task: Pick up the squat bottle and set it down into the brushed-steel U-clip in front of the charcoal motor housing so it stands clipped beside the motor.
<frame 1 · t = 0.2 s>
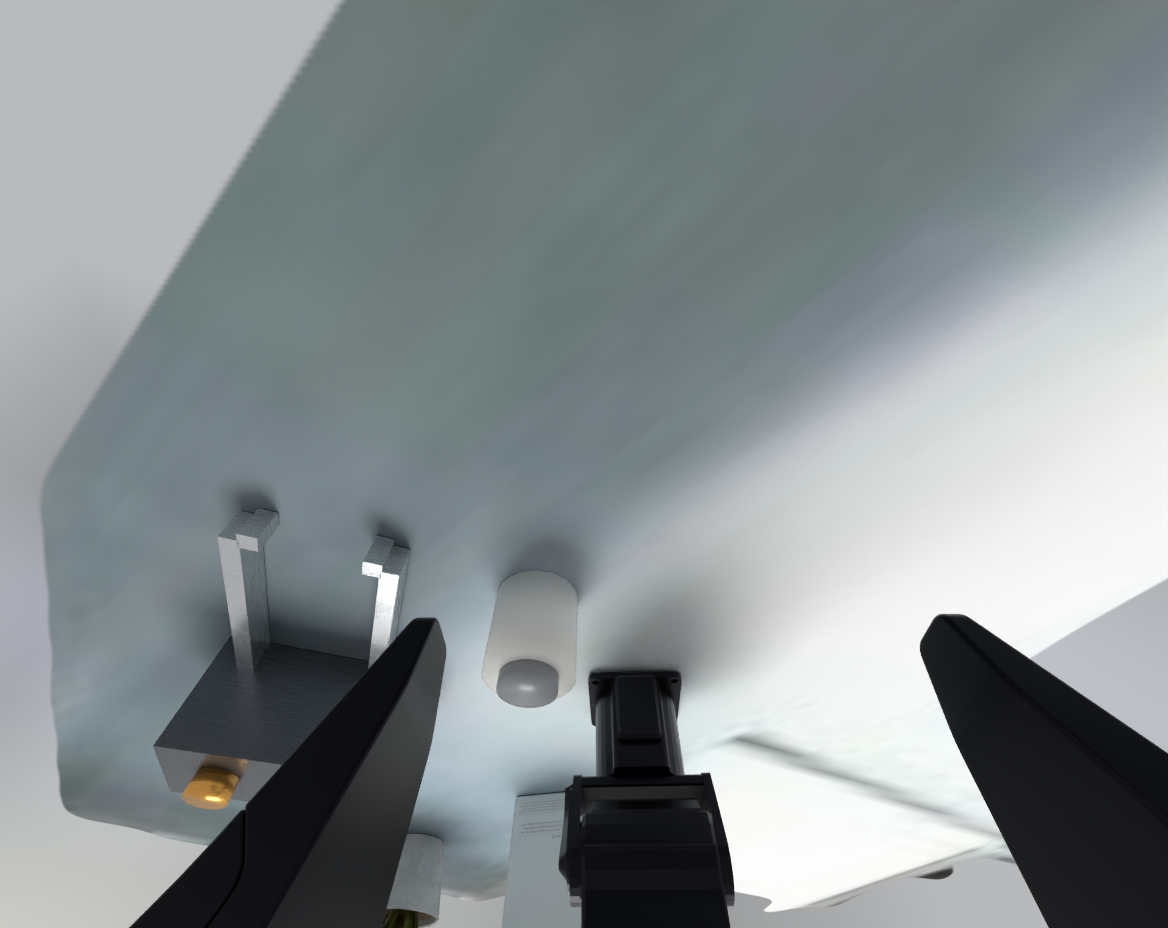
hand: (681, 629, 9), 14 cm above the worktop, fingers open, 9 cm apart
bottle: (537, 598, 30), on the worktop
house plant: (430, 838, 53), on the worktop
supplement box: (561, 805, 48), on the worktop
motor clip: (326, 583, 29), on the worktop
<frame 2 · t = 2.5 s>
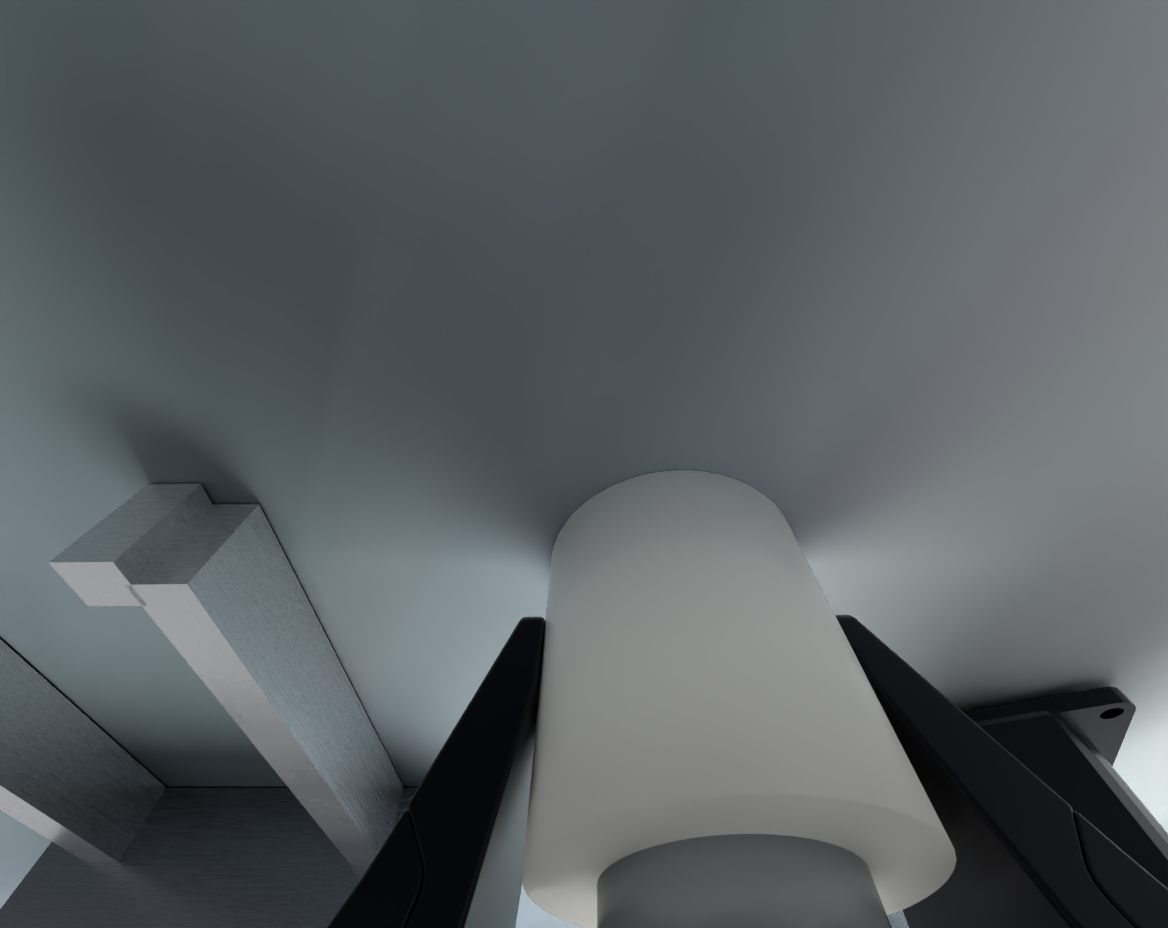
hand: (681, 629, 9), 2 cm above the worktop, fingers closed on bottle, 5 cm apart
bottle: (670, 568, 10), on the worktop, touching gripper
motor clip: (151, 649, 12), on the worktop
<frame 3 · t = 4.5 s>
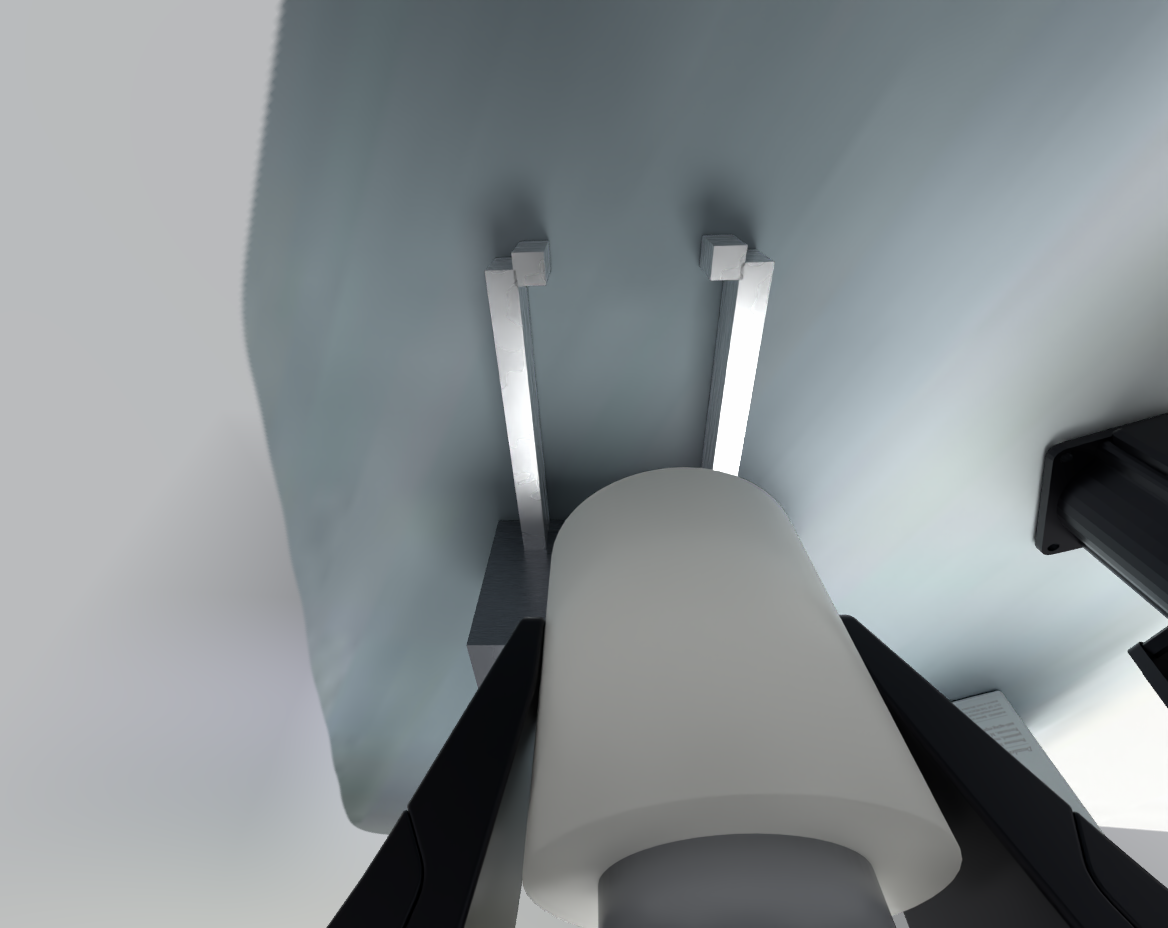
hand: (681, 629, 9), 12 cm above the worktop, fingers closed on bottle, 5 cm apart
bottle: (671, 566, 10), point 11 cm above the worktop, touching gripper
supplement box: (947, 725, 33), on the worktop
motor clip: (623, 374, 19), on the worktop
when the fingers open (3 cm above the worktop, at t = 6.7 s): bottle drops 2 cm, on the worktop.
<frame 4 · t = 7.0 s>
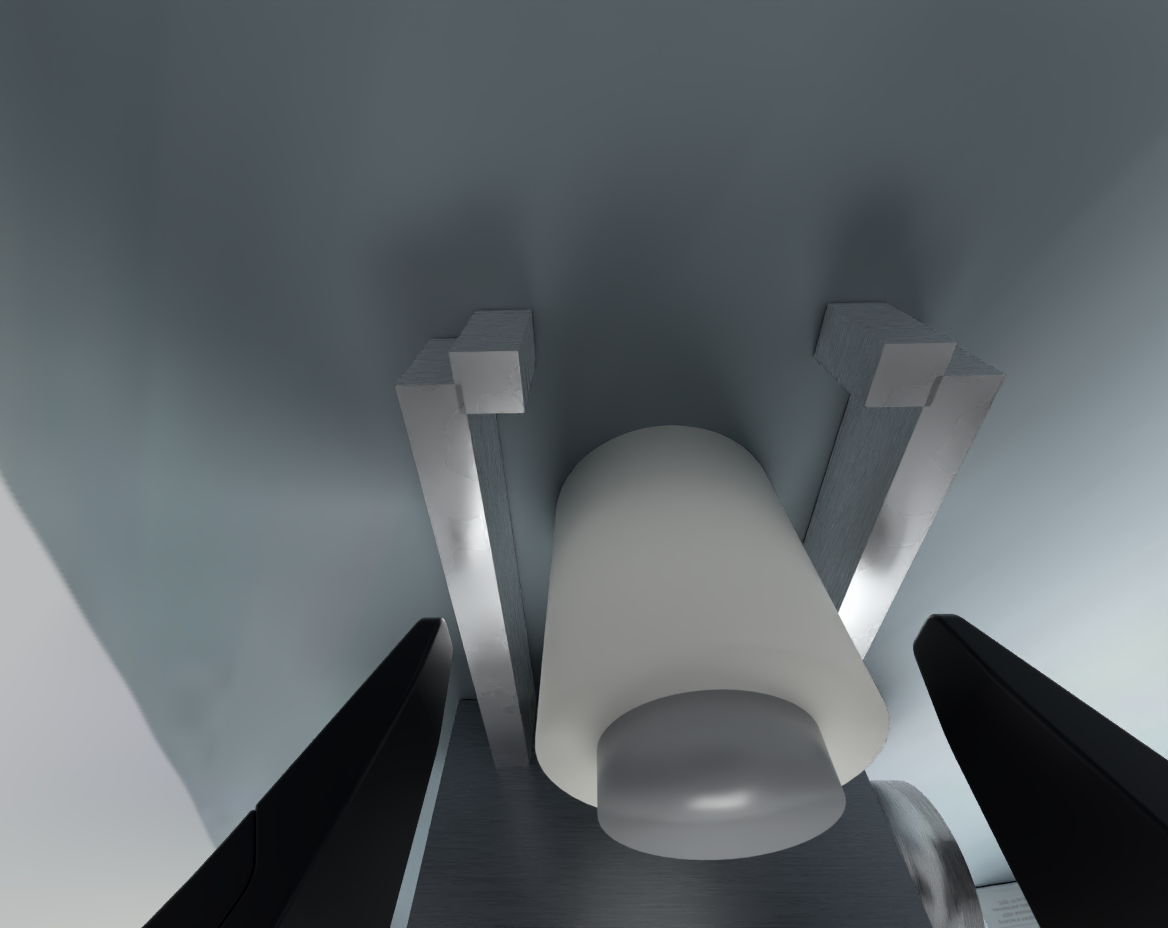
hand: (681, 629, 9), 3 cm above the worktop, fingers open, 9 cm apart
bottle: (662, 518, 11), on the worktop
supplement box: (1049, 890, 26), on the worktop
motor clip: (660, 521, 11), on the worktop
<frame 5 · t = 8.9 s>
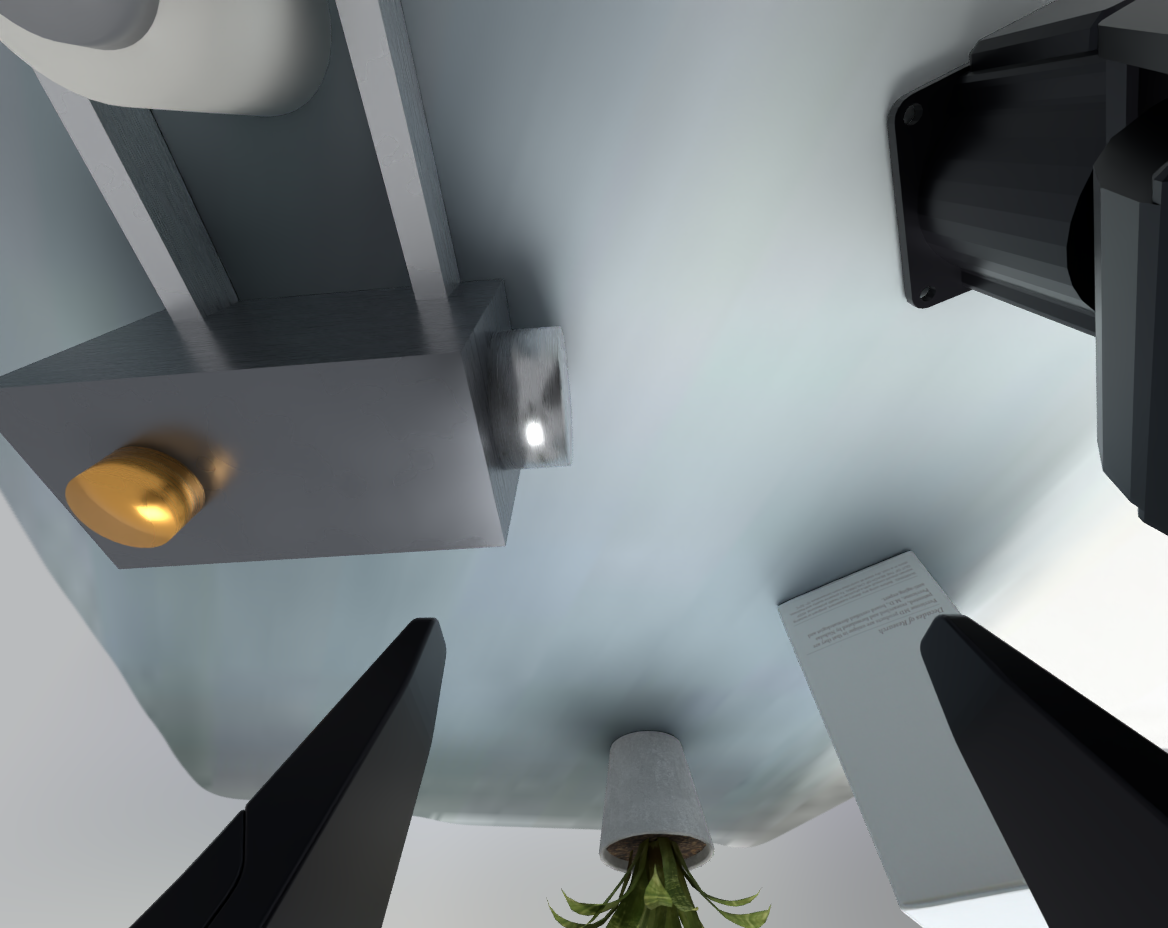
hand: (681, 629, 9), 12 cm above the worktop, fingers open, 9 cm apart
bottle: (233, 1, 13), on the worktop
house plant: (658, 738, 34), on the worktop
supplement box: (860, 611, 27), on the worktop
motor clip: (232, 5, 13), on the worktop
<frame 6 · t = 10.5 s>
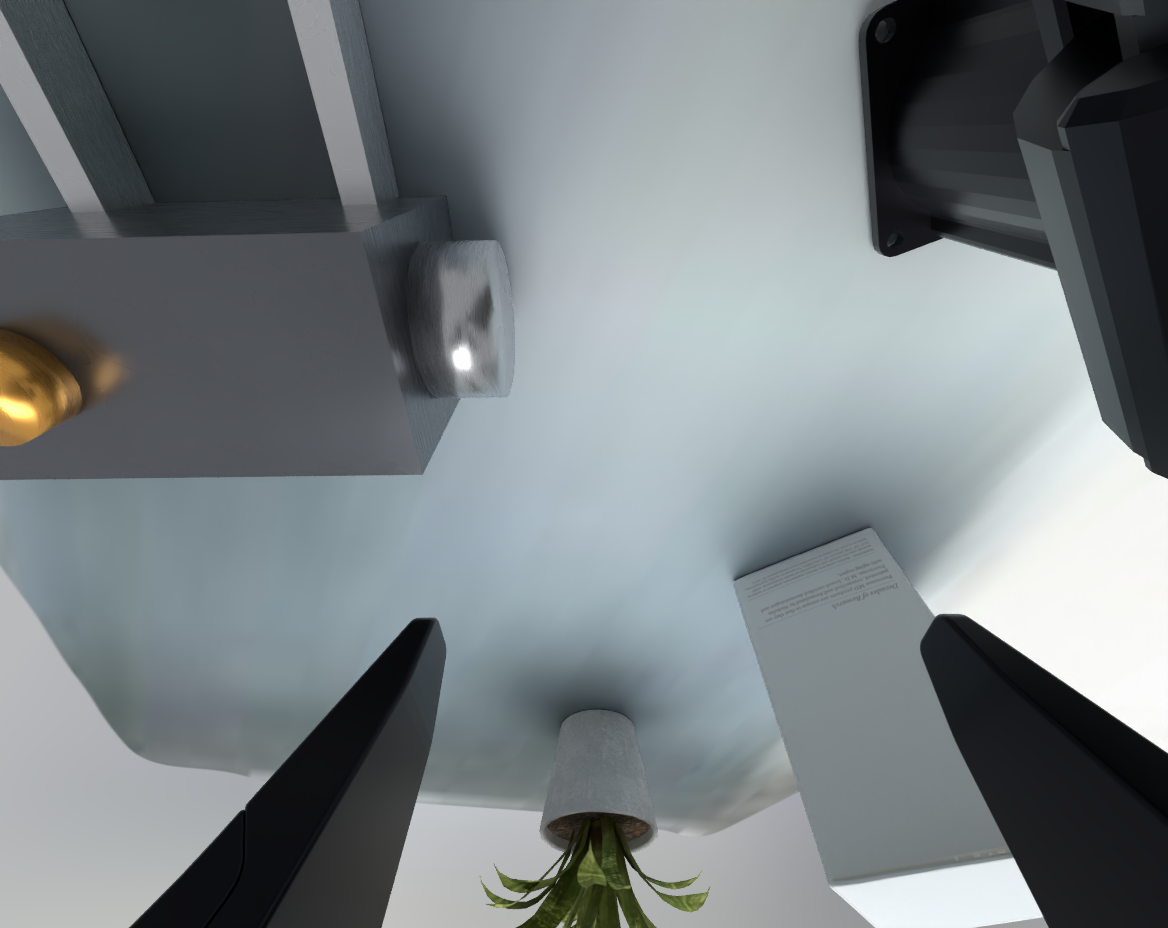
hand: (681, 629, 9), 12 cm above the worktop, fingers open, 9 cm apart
house plant: (610, 718, 34), on the worktop
supplement box: (818, 591, 26), on the worktop
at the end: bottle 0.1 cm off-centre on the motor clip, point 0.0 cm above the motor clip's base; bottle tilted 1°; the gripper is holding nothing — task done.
